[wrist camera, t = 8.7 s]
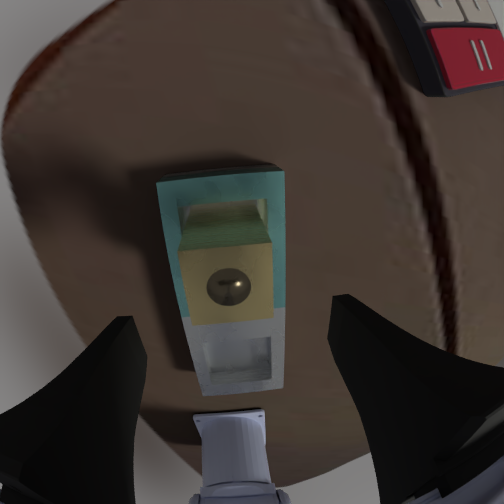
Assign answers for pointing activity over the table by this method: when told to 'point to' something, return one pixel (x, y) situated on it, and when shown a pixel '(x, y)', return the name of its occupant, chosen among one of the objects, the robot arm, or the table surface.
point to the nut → (226, 265)
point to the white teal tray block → (273, 329)
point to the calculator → (453, 43)
